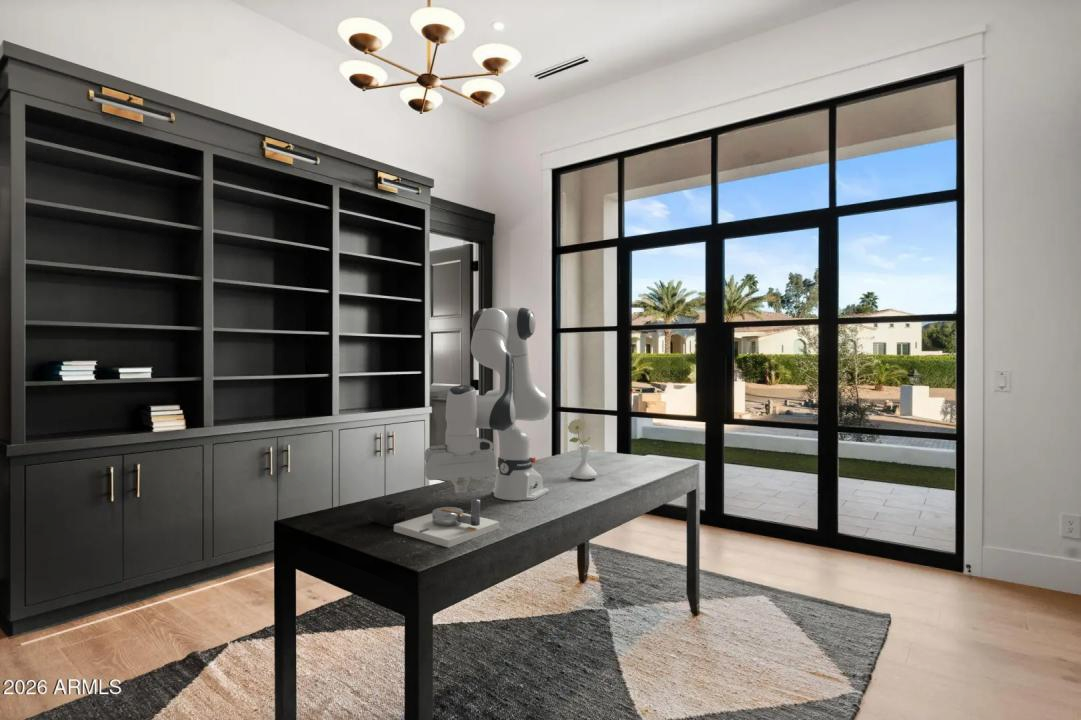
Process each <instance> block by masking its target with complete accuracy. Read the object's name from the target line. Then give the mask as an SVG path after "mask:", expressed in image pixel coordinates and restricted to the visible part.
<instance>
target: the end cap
mask: <svg viewBox="0 0 1081 720" xmlns="http://www.w3.org/2000/svg"><path fill="white" fill-rule="evenodd" d="M405 511H406V506H405V505H404V504H402V503H394V504H393V501H392V500H389V499H387V500H383V501H379V500H375V499H374V500H373V501H371V502H370V503H369V504H368V505H367V507H366V516H367V518H368V519H369V520H371V522H374V523H376V524H378V525H382V526H385V527H388V528H390V529H394V524H398V523H401V522H404V521H406V520H405V519H406V515H405V514H402V515H400V516H398V514H399V513H403V512H405Z"/></svg>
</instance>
